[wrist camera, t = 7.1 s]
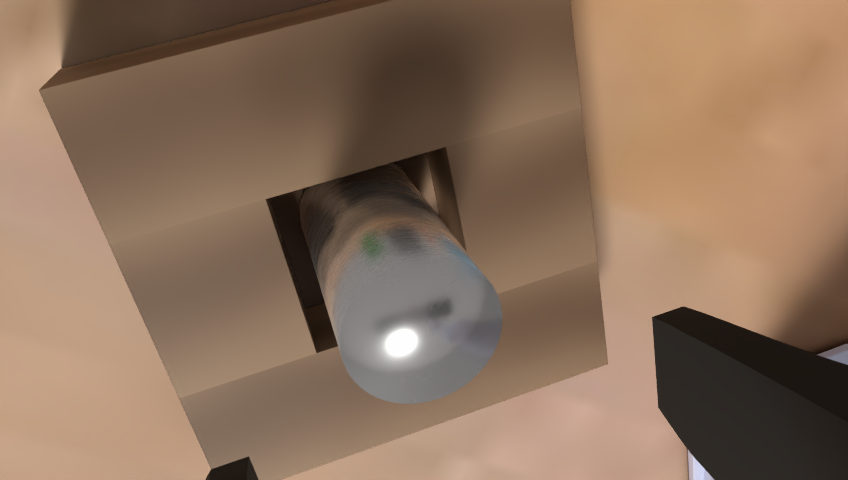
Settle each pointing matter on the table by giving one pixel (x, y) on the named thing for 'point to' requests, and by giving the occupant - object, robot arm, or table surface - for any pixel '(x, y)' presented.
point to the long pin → (398, 287)
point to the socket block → (323, 161)
